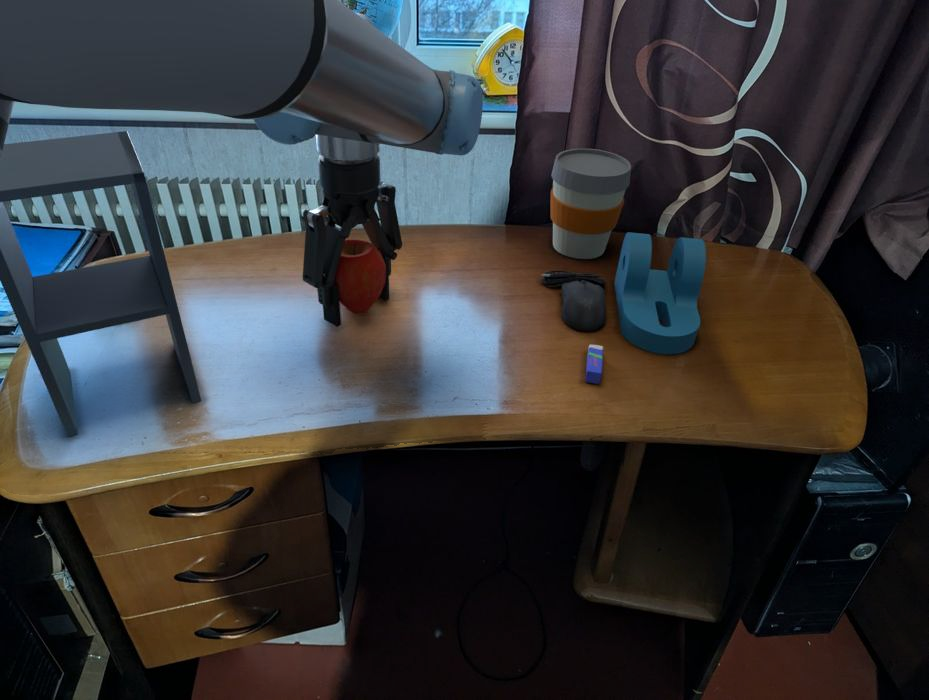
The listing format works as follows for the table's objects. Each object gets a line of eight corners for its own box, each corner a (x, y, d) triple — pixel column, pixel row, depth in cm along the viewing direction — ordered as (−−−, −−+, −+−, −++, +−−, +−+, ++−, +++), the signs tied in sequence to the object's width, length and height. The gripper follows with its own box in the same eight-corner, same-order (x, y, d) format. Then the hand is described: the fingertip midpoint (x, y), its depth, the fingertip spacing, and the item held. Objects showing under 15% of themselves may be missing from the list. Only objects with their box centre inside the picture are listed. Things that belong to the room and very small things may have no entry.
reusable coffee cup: (630, 250, 113) (649, 166, 104) (581, 272, 106) (597, 183, 97) (575, 223, 120) (589, 142, 112) (527, 242, 114) (537, 157, 105)
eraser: (601, 357, 88) (604, 345, 87) (599, 385, 83) (602, 373, 82) (586, 355, 88) (589, 343, 87) (583, 382, 84) (586, 370, 82)
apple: (314, 310, 94) (307, 242, 87) (360, 288, 99) (356, 223, 92) (354, 335, 89) (350, 265, 83) (400, 311, 95) (399, 244, 88)
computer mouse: (549, 331, 92) (553, 308, 90) (539, 278, 104) (542, 257, 102) (621, 334, 93) (626, 311, 90) (602, 280, 104) (607, 259, 102)
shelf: (201, 400, 77) (143, 171, 61) (67, 437, 72) (-37, 195, 55) (182, 345, 86) (127, 130, 69) (61, 374, 80) (-32, 147, 63)
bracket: (614, 282, 104) (627, 221, 98) (681, 289, 103) (699, 228, 97) (622, 349, 90) (638, 283, 83) (700, 358, 89) (722, 292, 83)
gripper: (389, 127, 89) (392, 272, 102) (256, 167, 76) (279, 329, 89) (430, 141, 85) (427, 290, 99) (298, 187, 72) (315, 352, 85)
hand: (357, 309), depth 94 cm, fingers closed on apple, 8 cm apart
